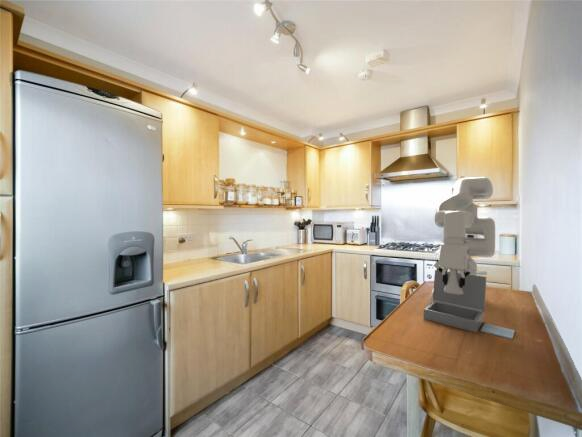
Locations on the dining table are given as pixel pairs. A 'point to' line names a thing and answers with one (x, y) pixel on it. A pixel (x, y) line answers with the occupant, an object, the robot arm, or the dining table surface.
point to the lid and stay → (472, 291)
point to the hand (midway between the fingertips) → (453, 285)
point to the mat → (498, 331)
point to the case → (454, 315)
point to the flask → (453, 283)
